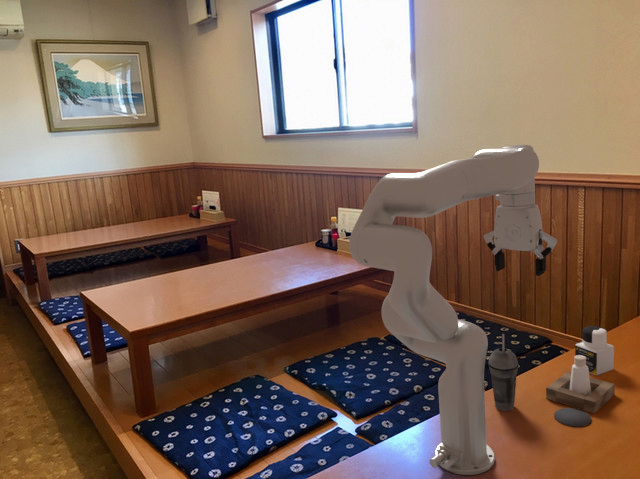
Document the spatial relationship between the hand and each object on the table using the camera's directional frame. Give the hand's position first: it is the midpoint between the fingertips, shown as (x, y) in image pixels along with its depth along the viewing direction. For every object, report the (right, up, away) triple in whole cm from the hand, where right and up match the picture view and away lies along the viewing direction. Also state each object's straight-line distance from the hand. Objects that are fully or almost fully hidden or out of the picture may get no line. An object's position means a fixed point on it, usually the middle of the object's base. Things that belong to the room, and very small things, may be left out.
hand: (519, 271), depth 128 cm
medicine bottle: (+31, -29, +27) cm, 50 cm away
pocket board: (+20, -33, +12) cm, 40 cm away
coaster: (+14, -35, +3) cm, 38 cm away
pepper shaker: (+20, -33, +12) cm, 41 cm away
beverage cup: (0, -35, +11) cm, 37 cm away
